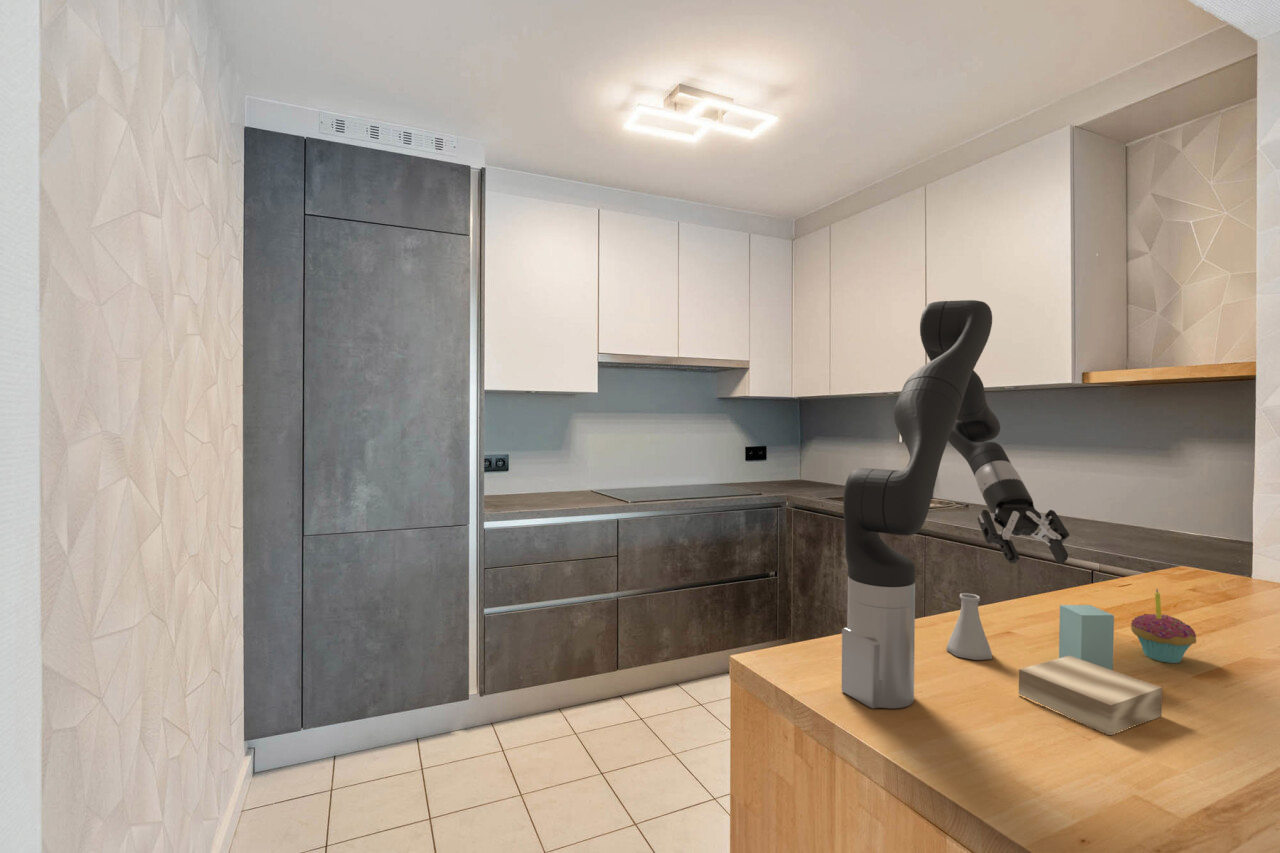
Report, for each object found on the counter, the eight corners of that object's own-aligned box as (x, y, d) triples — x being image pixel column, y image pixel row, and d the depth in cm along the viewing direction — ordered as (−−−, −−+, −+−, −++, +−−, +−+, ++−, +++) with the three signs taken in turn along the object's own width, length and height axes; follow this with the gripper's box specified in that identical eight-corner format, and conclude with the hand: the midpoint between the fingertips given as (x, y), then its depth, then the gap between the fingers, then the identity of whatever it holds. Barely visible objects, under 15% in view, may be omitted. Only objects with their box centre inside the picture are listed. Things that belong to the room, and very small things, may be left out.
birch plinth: (1110, 736, 78) (1110, 705, 78) (1018, 696, 89) (1019, 669, 89) (1161, 716, 84) (1162, 687, 83) (1068, 681, 94) (1069, 655, 94)
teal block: (1112, 678, 95) (1114, 615, 95) (1080, 678, 95) (1081, 615, 95) (1089, 665, 100) (1090, 605, 100) (1058, 665, 100) (1059, 605, 100)
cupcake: (1180, 671, 98) (1182, 597, 98) (1119, 653, 105) (1120, 584, 105) (1205, 661, 102) (1207, 590, 101) (1144, 644, 109) (1145, 577, 109)
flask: (999, 663, 101) (1000, 603, 101) (952, 659, 103) (953, 600, 102) (984, 646, 108) (985, 590, 108) (940, 643, 110) (941, 588, 109)
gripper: (973, 477, 118) (1008, 550, 106) (1047, 477, 117) (1090, 550, 106) (959, 500, 123) (990, 572, 112) (1029, 500, 123) (1068, 572, 112)
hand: (1039, 561), depth 109 cm, fingers open, 8 cm apart
